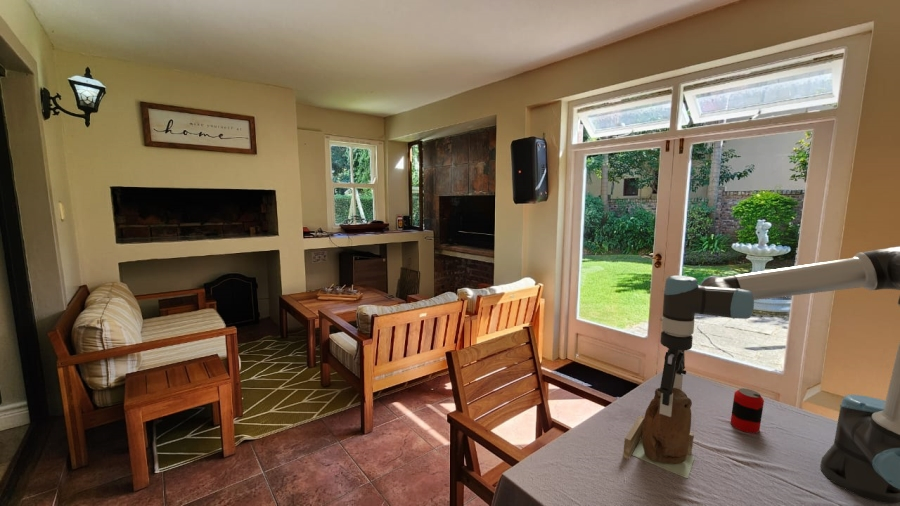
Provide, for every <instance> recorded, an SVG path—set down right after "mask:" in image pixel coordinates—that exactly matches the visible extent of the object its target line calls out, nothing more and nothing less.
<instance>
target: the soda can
mask: <svg viewBox="0 0 900 506" xmlns="http://www.w3.org/2000/svg"><path fill="white" fill-rule="evenodd" d="M763 398H764V397H762V395H761V393H759V392H758V391H755V390H753V389H750V388H742V387H741V388H739V389H738V390H735V391H734V395H733V401H732V410H731V416H730V423H731V425H732V426H733V427H734V428H735V429H737V430H739V431H741V432H744V433H748V434H756V433H757V434H758V433H759V432H760V430H761V422H762V417H763V411H764V410H763V409H764V404H765V399H763Z"/></svg>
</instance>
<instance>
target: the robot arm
mask: <svg viewBox="0 0 900 506" xmlns="http://www.w3.org/2000/svg"><path fill="white" fill-rule="evenodd" d="M664 283H665V284H664V290H663V300H662V301H663V305H662V317H660V318H659V320H660V321H661V329H662V330H661V331H660V340H659V341H660V344H661V345H662V346H663V347H666V348H667V351H666V352H665V355H664V363H663V368H662V369H663V370H662V375H661V379H660V380H661V382H660V386H659V387H658V388H657V389H658V391H660V392H661V400H660V412H659V413H660V414H663V415H666V416H669V417H671V413H672V402H673V392H672V391H673V388H677V389H680V390H682V391H683V379H684V375H686V374H687V370H685V368H686V367H685V366H686V365H685V363H686V361H685V356H686V355H685V351H689V350H691V349H692V347H693V337H694V336H693V334H694V331H695V316H696V314H698V315H705V316H714V317H720V318H729V319H734V320H735V319H739V320H740V319H741V320H743V319H744V320H746V319H747V320H748V319H750V318H751V317H752V315H753V313H754V308H755V301H757V300H766V299H775V298H782V297H790V296H800V295H801V296H802V295H808V294H816V293H826V292H834V291H840V290H841V291H843V290H851V289H859V288H864V289H866V290H868V291H877V290H879V291H880V290H898V291H900V245H898V246H891V247H885V248H879V249H874V250H869V251H862V252H857V253H856V254H855V255H854V256H853V257H849V258H842V259H835V260H830V261H823V262H815V263H809V264H803V265H797V266H796V265H795V266H790V267H788V266H787V267H781V268H776V269H767V270H762V271H761V270H760V271H757V272H756V271H755V272H749V273H743V274H735V275H728V276H718V275H709V276H707V277H705V278H704V279H702V281H701V282H700V284H699V281H698V280H697V278H695V277H693V276H687V275H686V276H685V275H671V276H668V277H667V278H666V279H665V282H664ZM897 306H898V307H900V295H899V296H898V302H897ZM897 346H898V347H897V350H896V354H895V359H894V364H893V368H892V371H891V375H890V376H891V377H890V381H889V385H888V390H887V394H886V398H885V399H880V398H875V397H872V396H866V395H860V394H848V395H847V394H846V395H845V396H843V397H842V399H841V404H840V405H839V413H838V419H837V423H836V431H835V436H834V440H833V441H834V442H833V443H832V445H831V446H830V448H829V449H828V450H827V451H826V453H824V455H823V456H822V457H821V461H820V466H819V467H820V471H821V472H822V473H823V475H824V476H825V477H827V479H829V480H830V481H831V482H832V483H834V484H836V485H837V486H839V487H841V488H843V489H845V490H846V491H848V492H850V493H852V494H855V495H857V496H859V497H863V498H865V499H867V500H872V501H875V502H879V503H885V504H897V503H898V504H899V503H900V341H899V342H898V345H897Z"/></svg>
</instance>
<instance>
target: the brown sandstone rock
mask: <svg viewBox="0 0 900 506" xmlns="http://www.w3.org/2000/svg"><path fill="white" fill-rule="evenodd" d="M672 392H673V402H672V413H671V417H669V416H666V415H663V414H660V413H659V412H660V400H661V392H660V391H658V388H656V389H655V391H654V397H653V398H652V399H651V400H650V402H649V404H648V407H647V408H646V409H645V413H644V416H645V418H644V426H643V436H642V437H643V438H642V437H641V438H642V441H643V449H644V453H645V454H646V456H647V457H648V458H649V459H651V460H653V461H659V462H662V463H673V464H677V463H682V462H684V461H685V460H686V457H687V454H688V448H689V440H690V437H689V434H690V432H691V426H692V410H691V407H692V404H693V402H692V400H691V397H690V398H689V397H688V395H687V394H686V392H685V391H683V389H682V390H680V389H677V388H673V391H672Z"/></svg>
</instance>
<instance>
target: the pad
mask: <svg viewBox="0 0 900 506" xmlns="http://www.w3.org/2000/svg"><path fill="white" fill-rule="evenodd" d="M642 438H643V436H642V437H641V438H640V440H639V442H638V444H637V445H636V447H635V449H634V451H633V452H632V454H631V456H633V457H635V458H638V459H640V460H641V461H644V462H647V463H649V464H652V465H653V466H656V467H659V468H661V469H663V470H666V471H668V472H670V473H673V474H676V475H678V476H681V477H682V478H685V479H688V478H689V476H690V474H691V473H690V472H691V469H692V466H693V463H694V460H695V456H693V455H692V454H691V455H690V454H688V453H687V457H686V460H685V461H684V462H682V463H677V464H673V463H662V462H659V461H653V460H651V459H649V458H648V457H647V456H646V454H645V453H644V449H643V441H642Z"/></svg>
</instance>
